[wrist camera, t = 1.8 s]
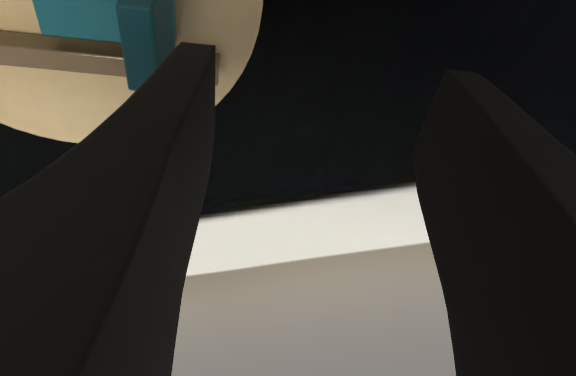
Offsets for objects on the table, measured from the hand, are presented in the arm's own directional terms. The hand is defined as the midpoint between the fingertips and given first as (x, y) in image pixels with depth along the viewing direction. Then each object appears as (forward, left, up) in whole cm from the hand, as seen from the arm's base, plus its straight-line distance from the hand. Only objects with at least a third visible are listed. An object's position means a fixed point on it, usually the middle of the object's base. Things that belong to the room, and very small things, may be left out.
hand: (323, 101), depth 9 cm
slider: (+3, +4, -3) cm, 6 cm away
